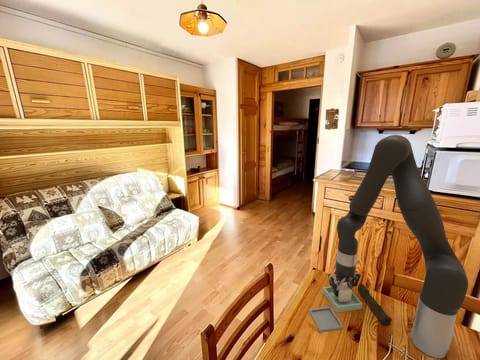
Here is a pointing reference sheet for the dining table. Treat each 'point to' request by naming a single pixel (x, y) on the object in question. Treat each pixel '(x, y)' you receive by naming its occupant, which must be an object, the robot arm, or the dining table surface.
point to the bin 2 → (342, 306)
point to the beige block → (344, 293)
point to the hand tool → (374, 305)
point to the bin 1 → (325, 319)
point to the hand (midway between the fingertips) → (342, 294)
